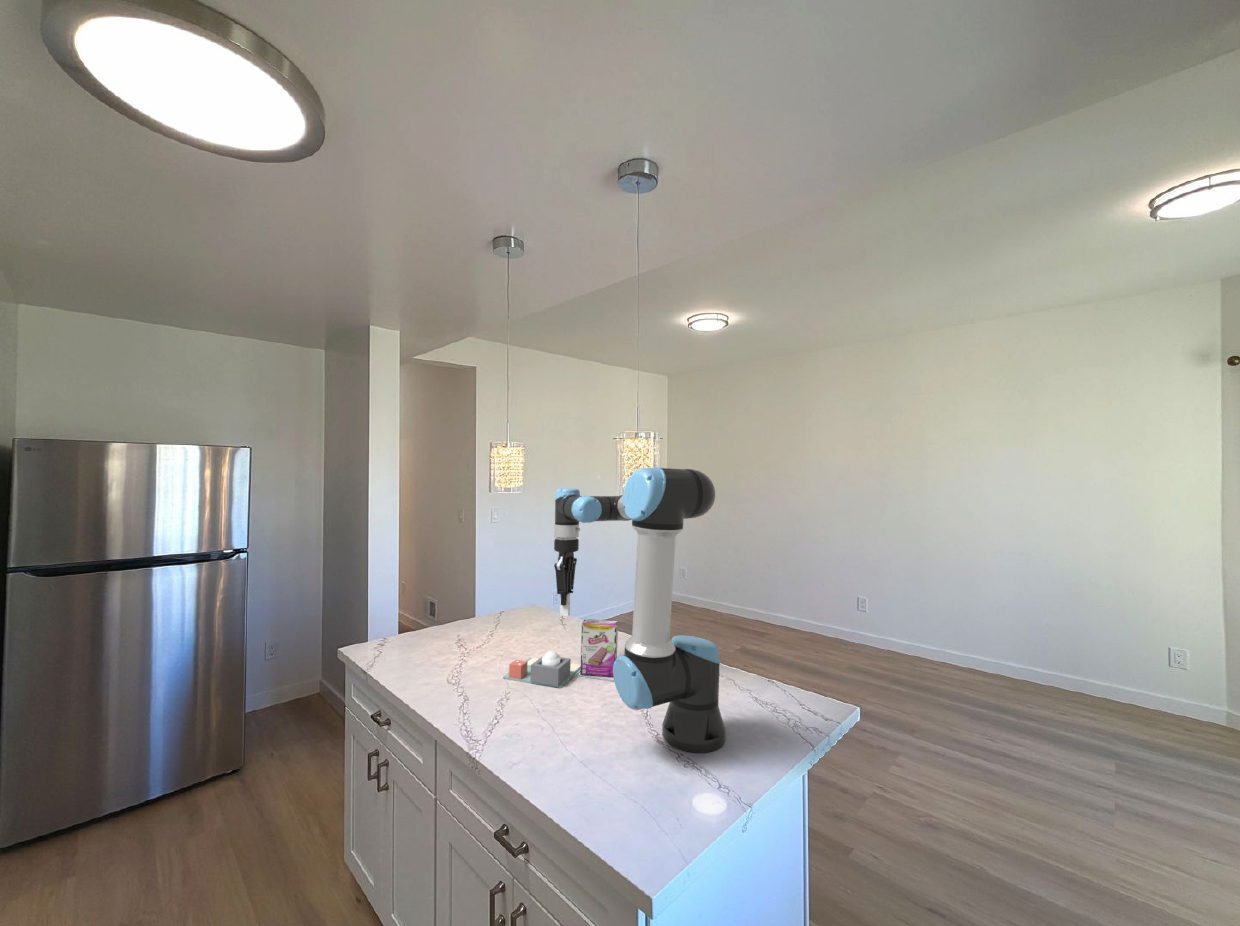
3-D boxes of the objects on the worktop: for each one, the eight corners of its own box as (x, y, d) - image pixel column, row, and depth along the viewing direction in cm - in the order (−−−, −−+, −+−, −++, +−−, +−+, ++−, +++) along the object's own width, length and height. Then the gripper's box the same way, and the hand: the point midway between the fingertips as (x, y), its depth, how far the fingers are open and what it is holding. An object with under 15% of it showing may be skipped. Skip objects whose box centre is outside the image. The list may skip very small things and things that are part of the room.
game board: (559, 688, 145) (559, 669, 145) (502, 679, 151) (502, 660, 151) (581, 667, 162) (582, 649, 162) (529, 659, 168) (530, 642, 168)
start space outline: (615, 681, 151) (615, 681, 151) (573, 675, 155) (573, 674, 155) (623, 672, 159) (623, 671, 159) (583, 666, 163) (583, 665, 163)
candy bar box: (580, 675, 155) (581, 623, 155) (582, 669, 160) (583, 618, 160) (615, 678, 154) (616, 625, 154) (617, 671, 159) (618, 620, 159)
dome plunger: (555, 676, 148) (555, 655, 148) (538, 673, 149) (538, 652, 150) (563, 669, 153) (563, 649, 153) (546, 666, 155) (547, 646, 155)
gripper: (570, 541, 146) (568, 621, 146) (585, 536, 159) (583, 610, 158) (546, 539, 148) (544, 619, 148) (563, 535, 161) (561, 608, 160)
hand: (564, 614), depth 153 cm, fingers closed
